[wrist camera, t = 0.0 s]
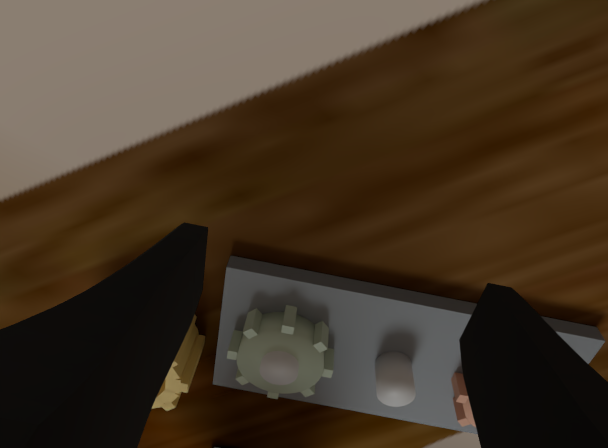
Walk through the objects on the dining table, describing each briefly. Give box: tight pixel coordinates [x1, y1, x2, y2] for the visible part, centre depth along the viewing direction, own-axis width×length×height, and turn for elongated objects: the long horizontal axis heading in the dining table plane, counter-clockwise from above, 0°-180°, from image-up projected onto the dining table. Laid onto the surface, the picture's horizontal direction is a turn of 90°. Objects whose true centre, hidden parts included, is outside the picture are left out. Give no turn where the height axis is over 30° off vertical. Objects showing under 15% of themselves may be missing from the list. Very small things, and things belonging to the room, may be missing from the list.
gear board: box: [213, 256, 605, 434], centre depth 26 cm, size 9×20×3 cm, turn 80°
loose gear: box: [152, 314, 205, 411], centre depth 27 cm, size 6×6×4 cm
